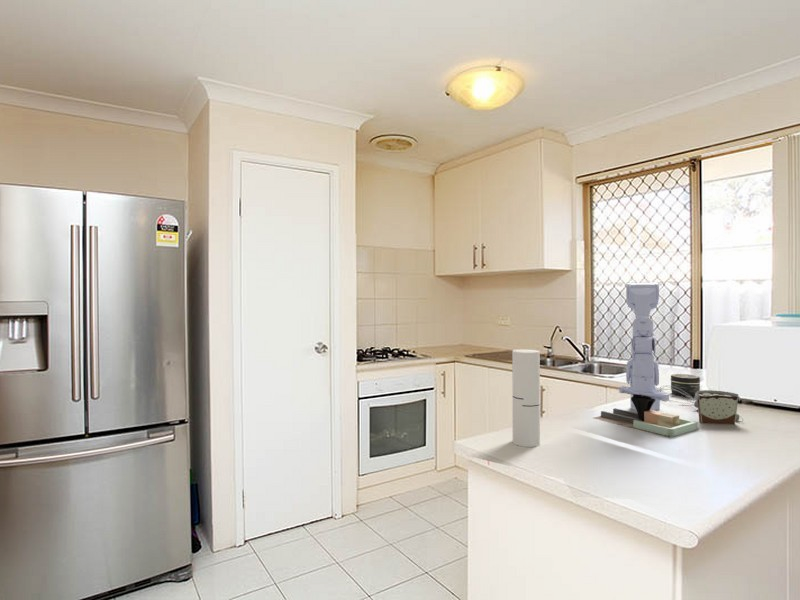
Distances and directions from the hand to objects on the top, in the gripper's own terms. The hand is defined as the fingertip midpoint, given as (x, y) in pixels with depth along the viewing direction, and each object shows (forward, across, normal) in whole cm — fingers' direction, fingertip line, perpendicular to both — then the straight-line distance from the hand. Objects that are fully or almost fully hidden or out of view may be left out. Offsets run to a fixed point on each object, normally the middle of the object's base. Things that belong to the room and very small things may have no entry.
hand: (643, 420), depth 141 cm
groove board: (+2, 0, 0) cm, 2 cm away
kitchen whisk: (+2, -2, +36) cm, 36 cm away
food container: (+2, +10, +20) cm, 23 cm away
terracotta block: (+1, +4, 0) cm, 4 cm away
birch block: (+1, +8, 0) cm, 8 cm away
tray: (+1, +7, 0) cm, 7 cm away
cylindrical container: (+2, -8, -42) cm, 43 cm away
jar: (+2, -16, +56) cm, 59 cm away
